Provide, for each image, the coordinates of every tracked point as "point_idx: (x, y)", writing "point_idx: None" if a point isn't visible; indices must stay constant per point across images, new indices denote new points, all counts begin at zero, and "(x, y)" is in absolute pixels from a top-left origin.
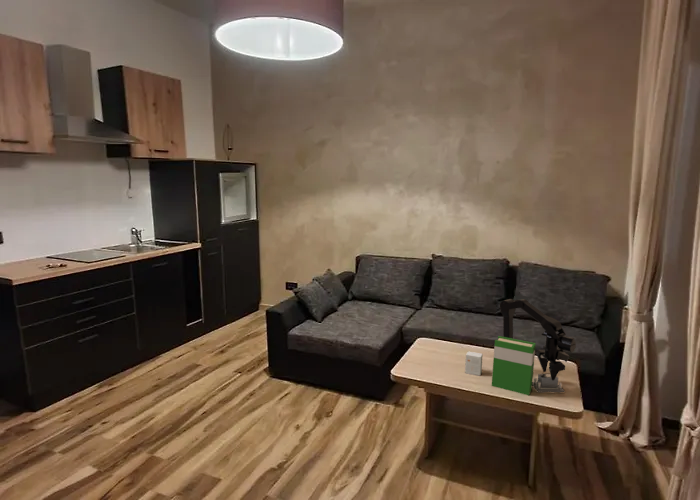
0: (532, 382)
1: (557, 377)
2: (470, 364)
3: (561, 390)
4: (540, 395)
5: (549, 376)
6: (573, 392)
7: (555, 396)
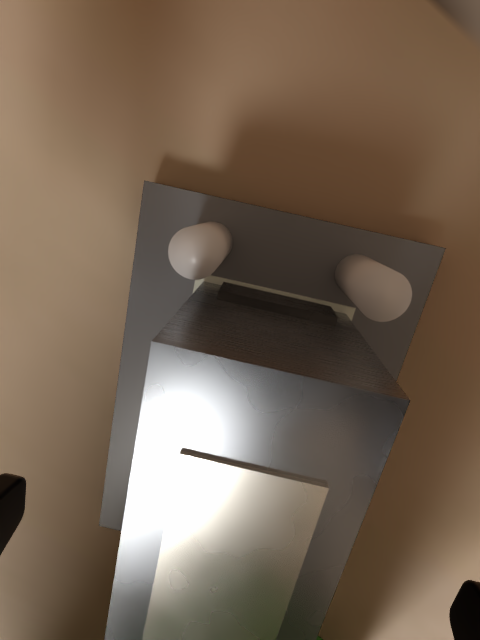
0: (113, 512)
1: (382, 410)
2: None
3: (418, 293)
4: (388, 571)
5: (282, 558)
6: (473, 79)
7: (471, 437)
